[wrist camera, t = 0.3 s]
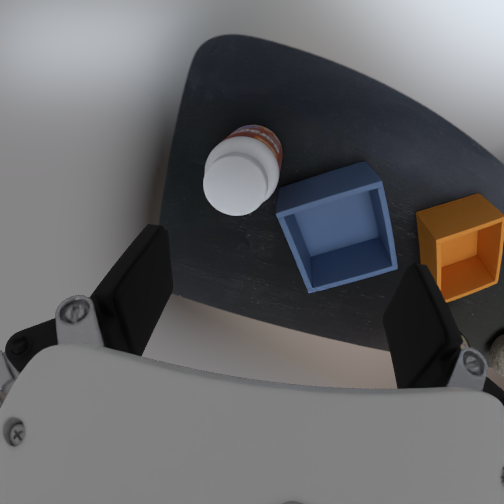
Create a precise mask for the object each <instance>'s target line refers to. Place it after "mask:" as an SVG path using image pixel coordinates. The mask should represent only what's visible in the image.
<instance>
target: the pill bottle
mask: <svg viewBox="0 0 504 504" xmlns="http://www.w3.org/2000/svg"><path fill="white" fill-rule="evenodd" d="M281 162H282V147H281V143H280V141H279V139H278V138H277V136H276V135H275V134H274V133H273V132H272V131H271V130H269V129H267V128H265V127H263V126H259V125H247V126H243V127H240V128H238V129H237V130H235V131H234V132H232V133H231V134H230V135H229V136H228V137H227V138H225V139H224V140H223V141H222V142H220V143H219V144H218V145H217V146H216V147H215V148H214V149H213V150H212V152H211V153H210V155H209V156H208V159H207V161H206V165H205V176H204V181H203V188H204V192H205V195H206V197H207V199H208V201H209V202H210V203H211V205H212V206H213V207H214V208H216V209H217V210H219V211H220V212H222V213H225V214H228V215H233V216H241V215H246V214H249V213H251V212H253V211H254V210H256V209H257V208H258V207H259V206H260V205H261V203H263V202H264V201H266V200H267V199H268V198H269V197H270V196H271V195H272V193H273V192H274V190H275V188H276V187H277V183H278V180H279V175H280V168H281Z"/></svg>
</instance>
